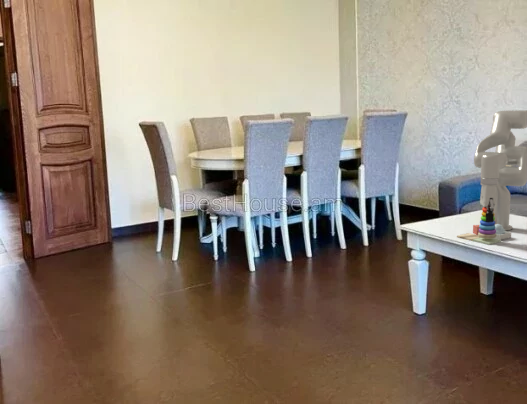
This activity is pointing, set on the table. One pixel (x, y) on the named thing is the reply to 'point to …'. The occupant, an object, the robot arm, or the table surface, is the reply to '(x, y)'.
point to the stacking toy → (486, 226)
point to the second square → (486, 241)
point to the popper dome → (499, 229)
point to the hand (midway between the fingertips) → (487, 219)
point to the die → (476, 229)
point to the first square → (468, 236)
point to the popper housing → (503, 236)
